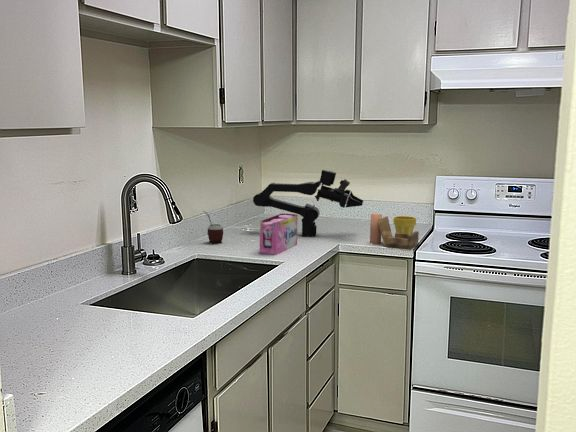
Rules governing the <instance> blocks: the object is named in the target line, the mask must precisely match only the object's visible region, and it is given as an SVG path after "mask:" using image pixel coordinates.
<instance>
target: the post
mask: <svg viewBox="0 0 576 432" xmlns="http://www.w3.org/2000/svg"><path fill="white" fill-rule="evenodd" d="M381 218H383V214H382V213H370V223H369V224H370V226H369V227H370V229H369V243H370V244H371V243H372V244H371V245H381V244H382V235H381V231H380V227H379V222H378V220H379V219H381ZM380 243H381V244H380Z"/></svg>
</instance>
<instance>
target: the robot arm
mask: <svg viewBox="0 0 576 432" xmlns="http://www.w3.org/2000/svg"><path fill="white" fill-rule="evenodd" d="M336 176H337V172H335V171H332V170H325V169H322V170H321V174H320V178H319V180H317V181H308V182H303V183H280V182H279V183H276V182H271V183H269V184H268V185H267V186H266V187H265V188H264V189H263V190H261V192H259V193H256V194H255V195H254V196H253V199H252V201H253V204H254V205H255V206H257V207H264V208H267V207H269V208H274V209H277V210H278V209H279V210H280V211H281V210H282V211H286V212H289V213H291V214H297V215H299V216H300V217H302V218H301V236H302V237H316V235H317V225H316V220H317V219H318V218H319V217H320V209H319V208H318V207H316V205H312V204H310V203H306V204H305V205H299V204H294V203H291V202H287V201H284V200H280V199H277V198H274V197H272V196H271V195H272V194H274V192H278V193H279V192H280V193H283V192H284V193H299V194H303V195H307V196H313V195H314V194H316V195H314V198H315V199H316V201H317V202H318V201H320V199H325V200H328V201H330V202H334V203H338V204H339V206H340V208H344V209H346V208H354V207H362V206H363V205H364V200H363V199H361V198H360V197H358V196H356V195H354V194H353V191H351V190H350V189H346V188H347V187H349V186H350V185H351V182H350V181H348V180H347V179H346V178H344V179H341V181H340V182H339V186H338V187H335V188H333V187H331V186H332V185H333V186H334V183H335V179H336ZM319 187H320V189H318V188H319Z"/></svg>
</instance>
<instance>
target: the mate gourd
mask: <svg viewBox="0 0 576 432" xmlns="http://www.w3.org/2000/svg"><path fill="white" fill-rule="evenodd" d="M203 213H205V214H206V217H207V218H208V221H209V223H210V225H208V227H207V237H208V240H209V241H208V244H209V243H210V244H212V245H215V244H223V239H224V238H223V236H224V227H223V226H222V225H221V224H217V223H215V224H214V223H212V220H211V216H210V215H209V213H208V212H207V211H205V210H203Z"/></svg>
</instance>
